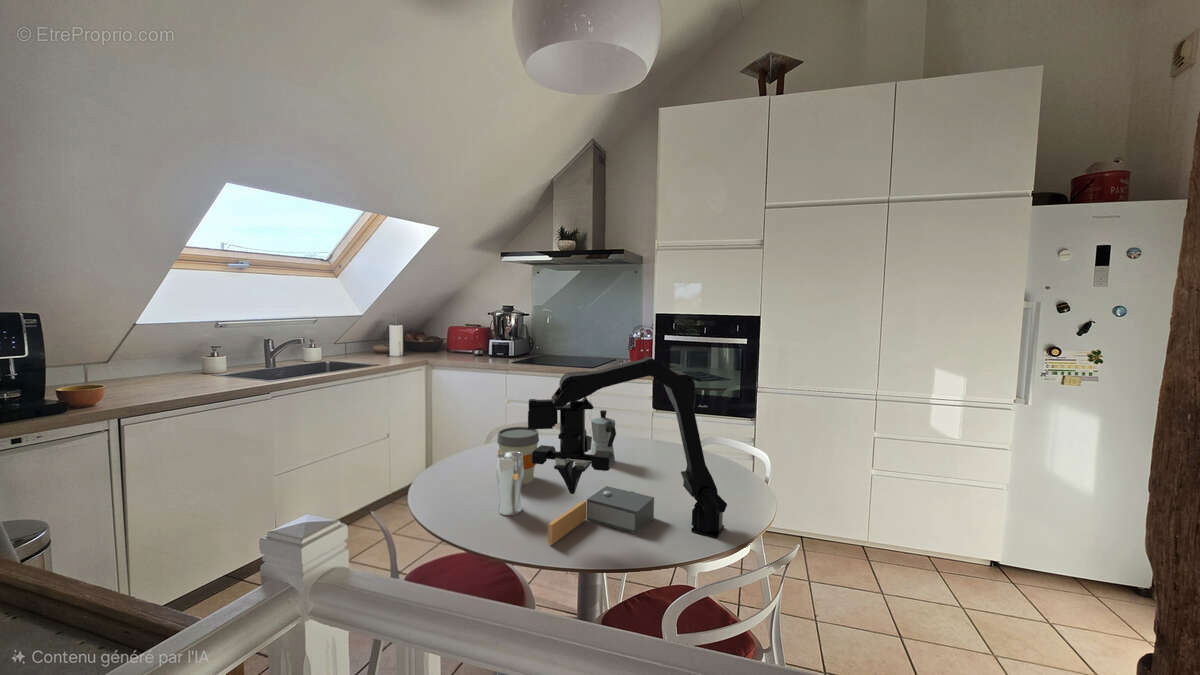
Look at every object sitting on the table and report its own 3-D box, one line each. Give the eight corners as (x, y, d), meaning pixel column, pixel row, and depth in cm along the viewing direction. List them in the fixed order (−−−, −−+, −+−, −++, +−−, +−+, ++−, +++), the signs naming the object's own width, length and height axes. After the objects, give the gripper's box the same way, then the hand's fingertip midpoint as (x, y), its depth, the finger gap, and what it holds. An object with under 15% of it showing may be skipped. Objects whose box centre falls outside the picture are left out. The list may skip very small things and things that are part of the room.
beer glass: (511, 502, 134) (511, 449, 133) (528, 510, 130) (529, 454, 128) (491, 511, 129) (490, 455, 127) (508, 519, 124) (508, 461, 123)
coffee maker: (583, 458, 171) (584, 407, 170) (606, 455, 175) (606, 405, 174) (601, 472, 158) (602, 417, 156) (625, 468, 162) (626, 415, 160)
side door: (552, 544, 111) (552, 524, 111) (546, 542, 112) (546, 523, 112) (586, 518, 124) (586, 501, 124) (580, 517, 125) (581, 499, 125)
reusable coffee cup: (517, 491, 142) (517, 440, 141) (488, 480, 149) (488, 432, 148) (547, 478, 152) (547, 431, 151) (519, 469, 159) (519, 424, 158)
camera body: (656, 514, 128) (657, 492, 127) (636, 534, 117) (636, 509, 117) (609, 502, 135) (609, 481, 134) (586, 520, 124) (586, 496, 124)
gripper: (620, 422, 118) (619, 484, 120) (547, 416, 123) (548, 477, 125) (608, 434, 108) (608, 503, 109) (529, 428, 113) (530, 494, 114)
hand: (572, 493), depth 114 cm, fingers closed
